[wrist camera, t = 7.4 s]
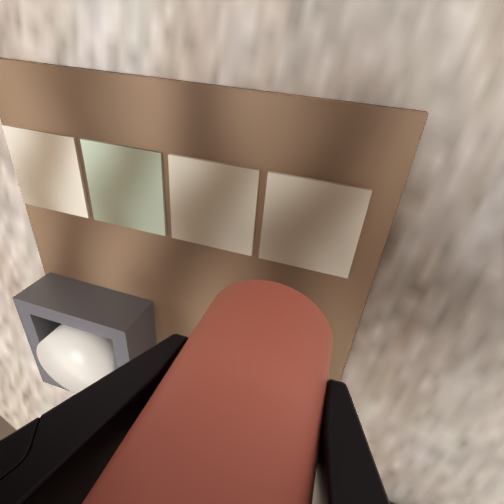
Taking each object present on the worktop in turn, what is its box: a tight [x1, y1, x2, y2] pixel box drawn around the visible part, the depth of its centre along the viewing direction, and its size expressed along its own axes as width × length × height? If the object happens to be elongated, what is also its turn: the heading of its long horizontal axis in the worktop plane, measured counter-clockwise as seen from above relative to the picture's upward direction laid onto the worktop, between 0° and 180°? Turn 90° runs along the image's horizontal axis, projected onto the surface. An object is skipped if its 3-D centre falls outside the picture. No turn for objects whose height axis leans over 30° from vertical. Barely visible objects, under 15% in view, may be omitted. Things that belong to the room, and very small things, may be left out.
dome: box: [36, 324, 117, 394], centre depth 23 cm, size 5×5×3 cm
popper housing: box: [13, 272, 157, 392], centre depth 24 cm, size 8×8×3 cm
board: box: [0, 58, 428, 381], centre depth 20 cm, size 21×21×1 cm
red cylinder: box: [82, 280, 333, 504], centre depth 6 cm, size 4×4×8 cm
